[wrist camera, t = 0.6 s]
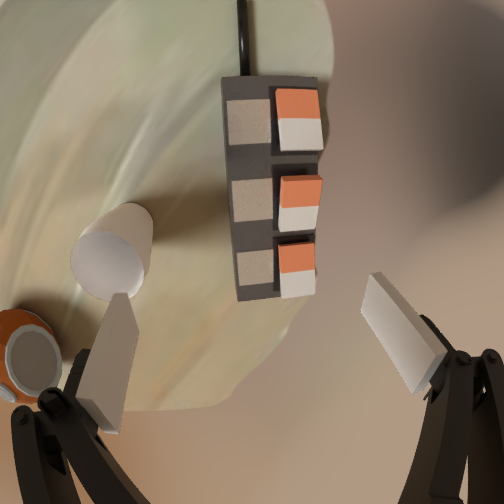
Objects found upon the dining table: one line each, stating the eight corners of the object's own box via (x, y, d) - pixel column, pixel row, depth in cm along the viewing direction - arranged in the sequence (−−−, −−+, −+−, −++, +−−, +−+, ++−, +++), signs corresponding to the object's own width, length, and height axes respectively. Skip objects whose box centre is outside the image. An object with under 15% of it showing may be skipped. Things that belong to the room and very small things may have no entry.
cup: (149, 185, 35) (124, 217, 25) (170, 243, 39) (158, 293, 29) (93, 206, 35) (56, 243, 24) (117, 259, 39) (92, 309, 29)
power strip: (217, 1, 24) (218, -14, 20) (301, 3, 25) (314, -9, 21) (235, 286, 44) (238, 306, 40) (303, 278, 45) (313, 296, 41)
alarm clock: (84, 358, 48) (64, 426, 33) (37, 365, 48) (15, 421, 33) (32, 286, 39) (-12, 352, 24) (-10, 304, 39) (-47, 358, 24)
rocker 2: (281, 176, 30) (283, 181, 30) (319, 174, 31) (322, 179, 30) (278, 226, 35) (280, 231, 34) (312, 223, 36) (315, 228, 35)
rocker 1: (275, 92, 28) (277, 88, 26) (313, 93, 28) (317, 90, 27) (280, 151, 29) (283, 149, 28) (319, 150, 30) (323, 149, 28)
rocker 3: (278, 244, 37) (280, 246, 35) (311, 241, 37) (314, 243, 36) (280, 295, 38) (282, 298, 37) (312, 291, 39) (314, 294, 37)
